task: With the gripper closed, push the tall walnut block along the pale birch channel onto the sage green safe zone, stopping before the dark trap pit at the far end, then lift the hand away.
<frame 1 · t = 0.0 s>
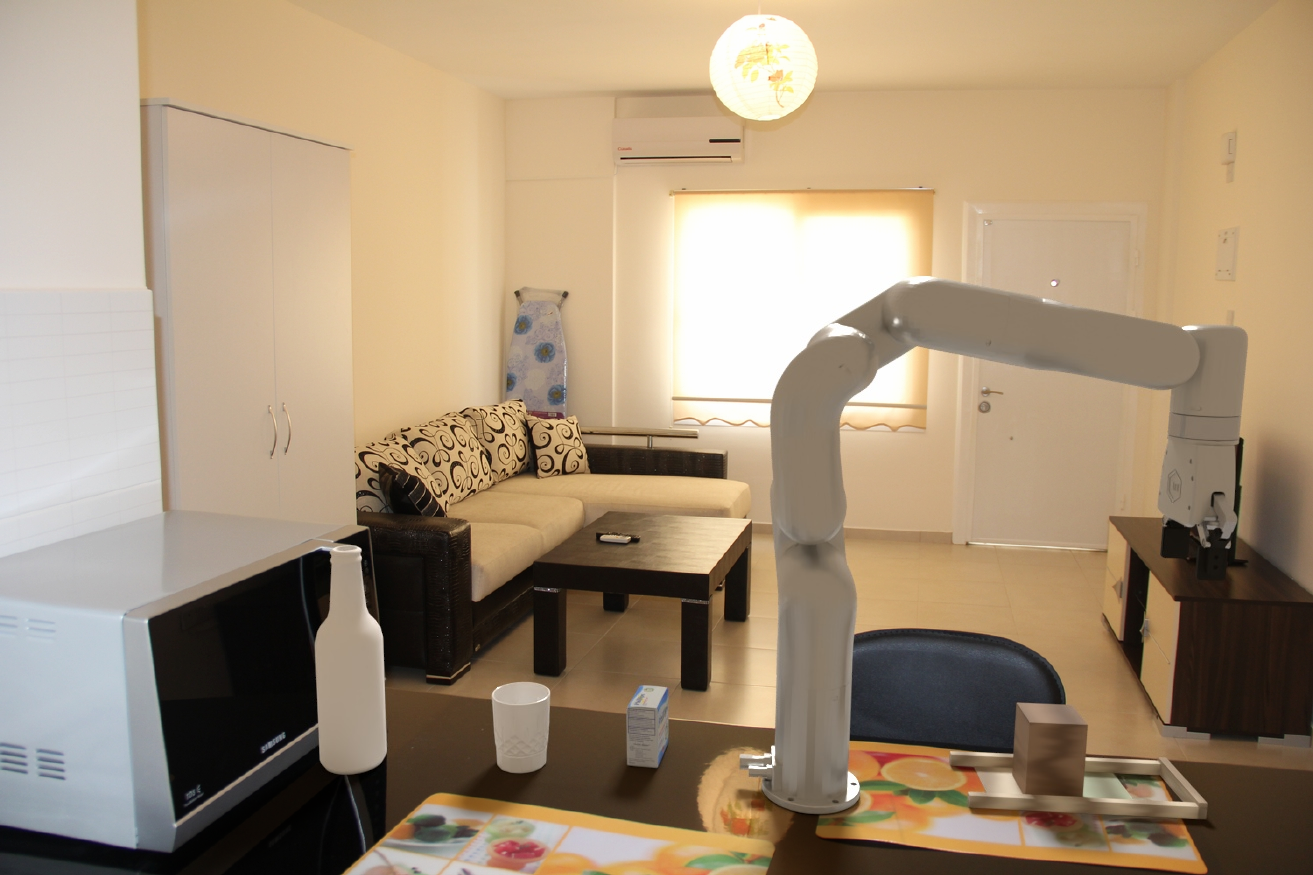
hand: (1191, 568, 120), 31 cm above the table, tool pointing down, fingers open, 9 cm apart
alcohol: (354, 762, 136), on the table
white cup: (522, 763, 136), on the table
channel board: (1069, 799, 127), on the table
walnut block: (1046, 787, 127), point 1 cm above the table, touching channel board
medicine box: (647, 756, 138), on the table
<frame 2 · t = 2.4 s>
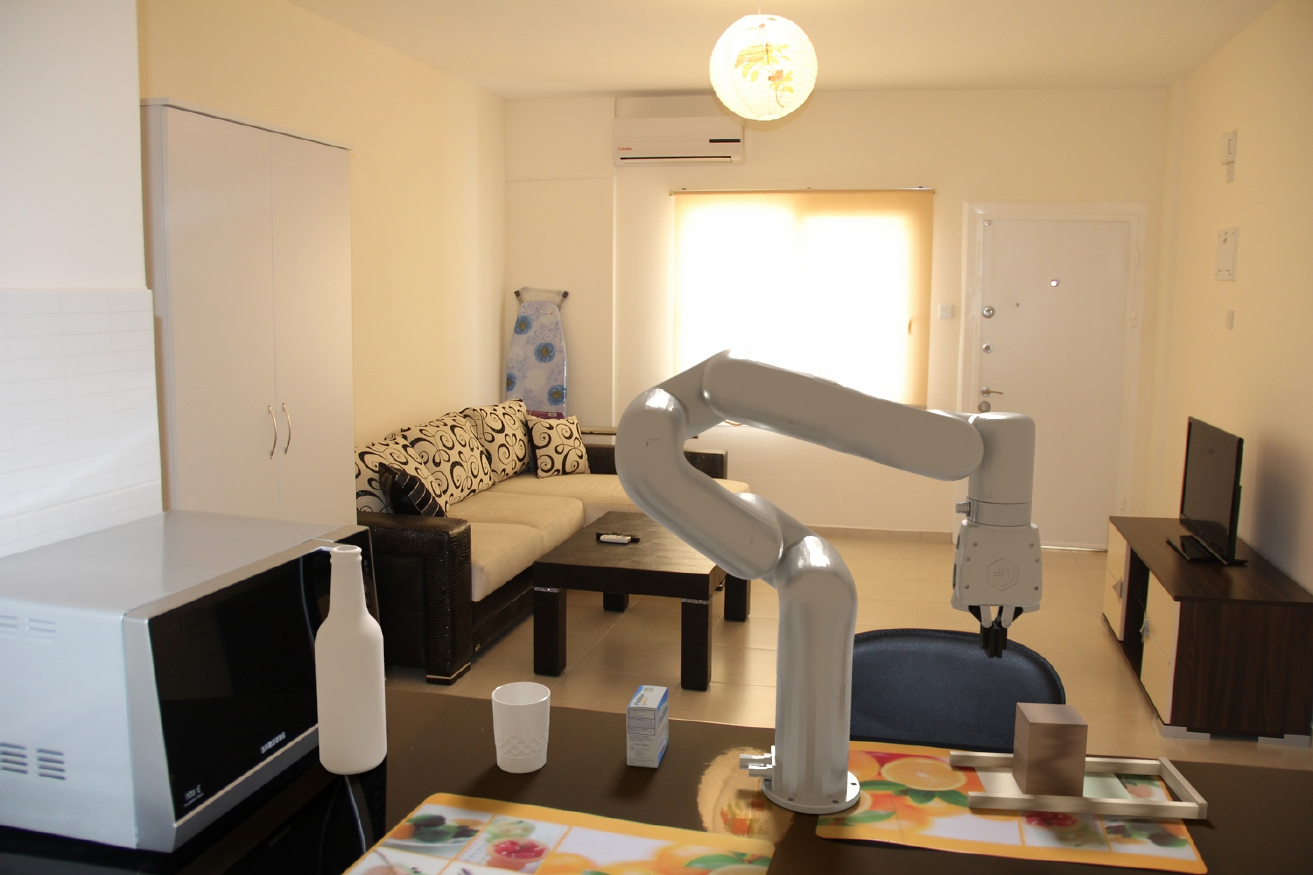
hand: (992, 654, 125), 19 cm above the table, tool pointing down, fingers closed
nothing on the table moved.
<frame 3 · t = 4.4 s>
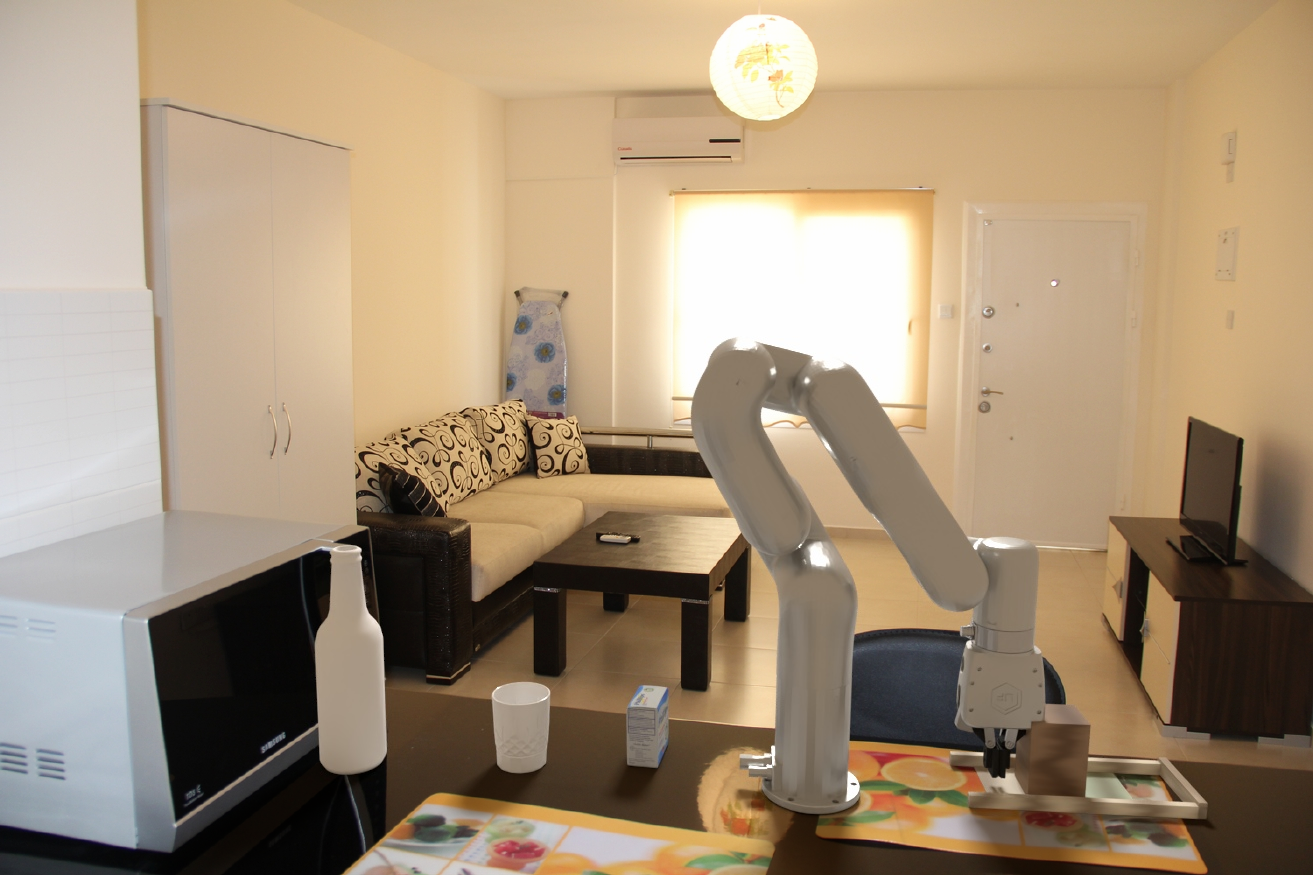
hand: (995, 772, 127), 3 cm above the table, tool pointing down, fingers closed
walnut block: (1048, 787, 127), point 1 cm above the table, touching channel board, gripper
everything else where it was.
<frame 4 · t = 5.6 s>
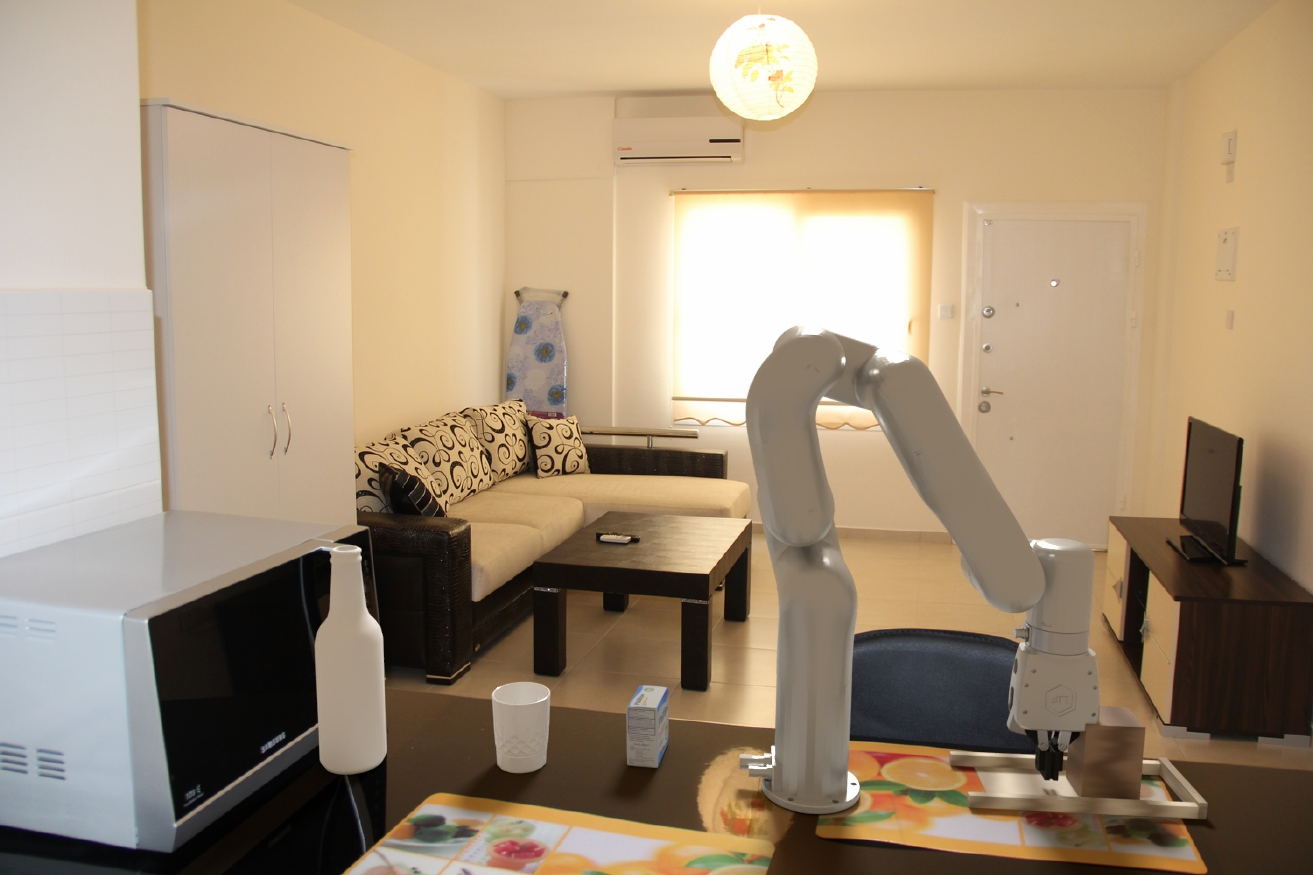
hand: (1048, 775, 127), 3 cm above the table, tool pointing down, fingers closed
walnut block: (1101, 789, 126), point 1 cm above the table, touching channel board, gripper
everything else where it was.
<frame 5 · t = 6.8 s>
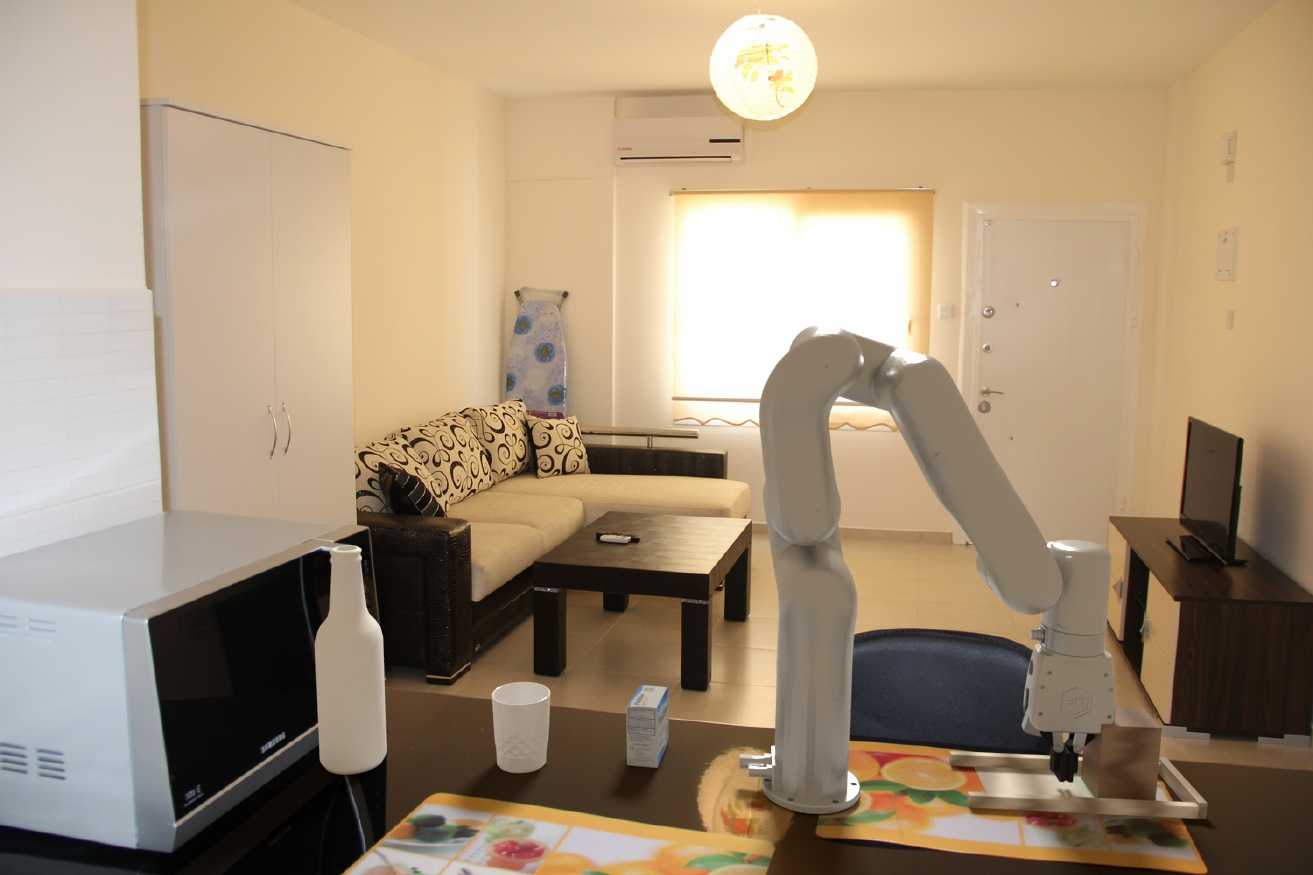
hand: (1062, 777, 126), 3 cm above the table, tool pointing down, fingers closed
walnut block: (1117, 790, 126), point 1 cm above the table, touching channel board
everything else where it was.
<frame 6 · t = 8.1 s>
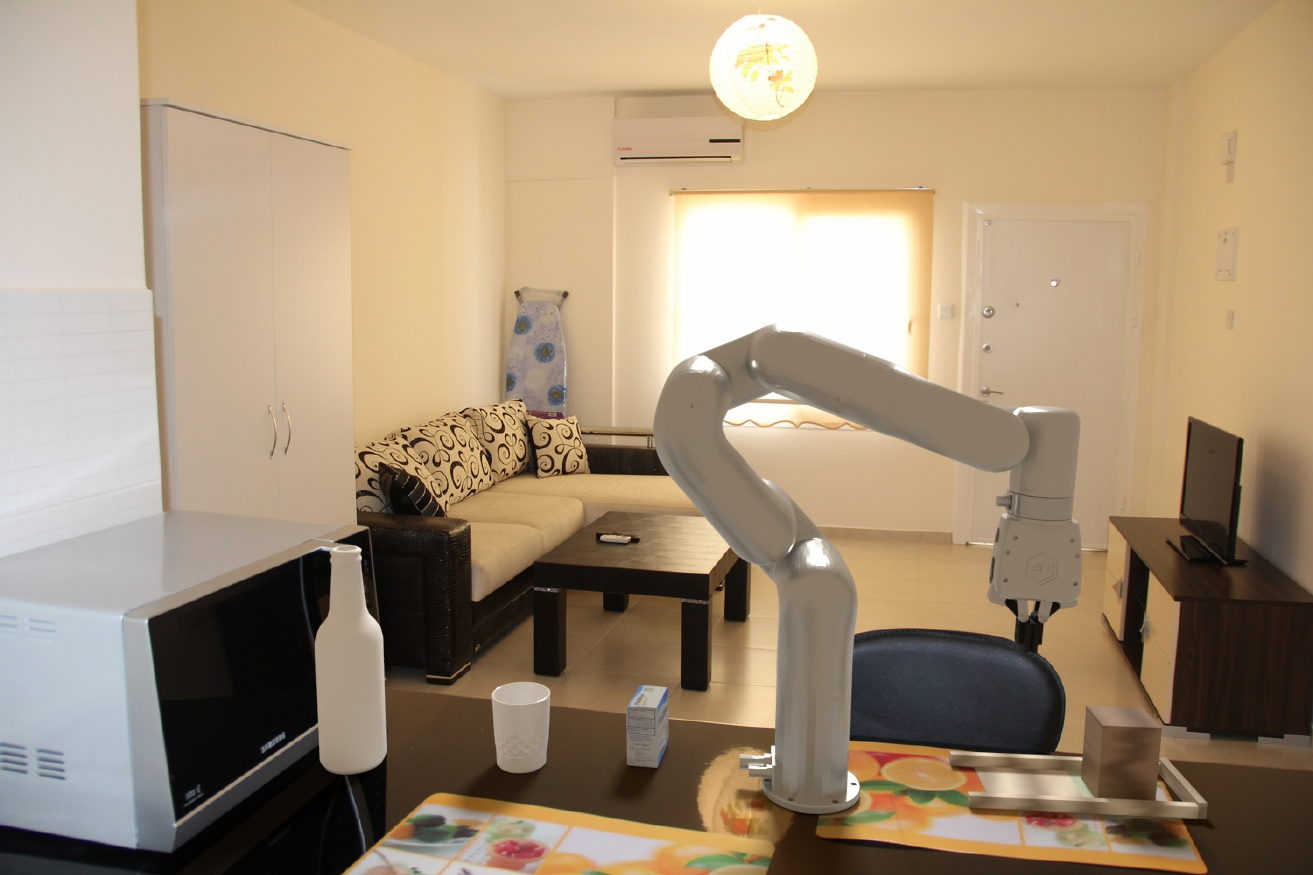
hand: (1027, 649, 124), 20 cm above the table, tool pointing down, fingers closed
nothing on the table moved.
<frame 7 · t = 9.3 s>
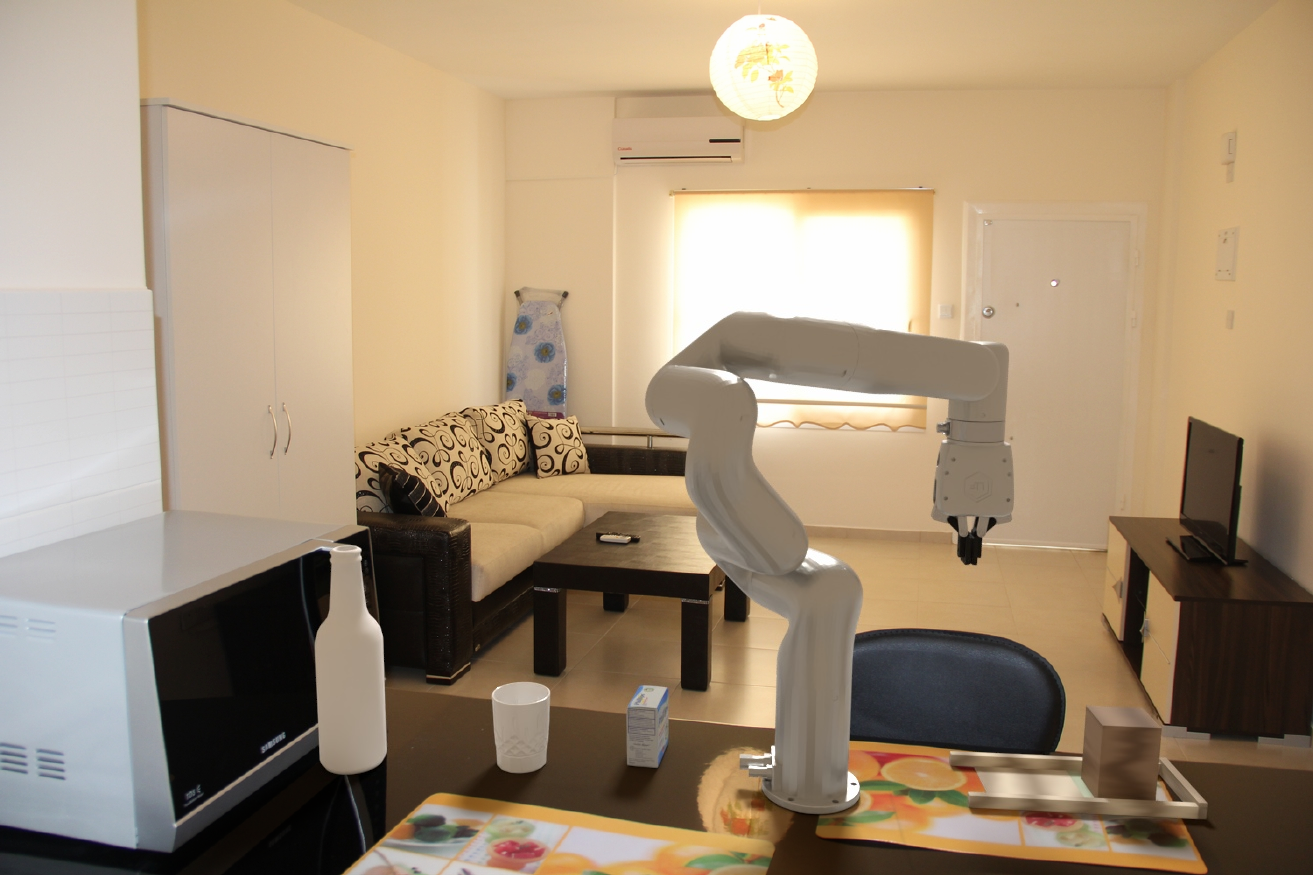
hand: (968, 562, 138), 27 cm above the table, tool pointing down, fingers closed
nothing on the table moved.
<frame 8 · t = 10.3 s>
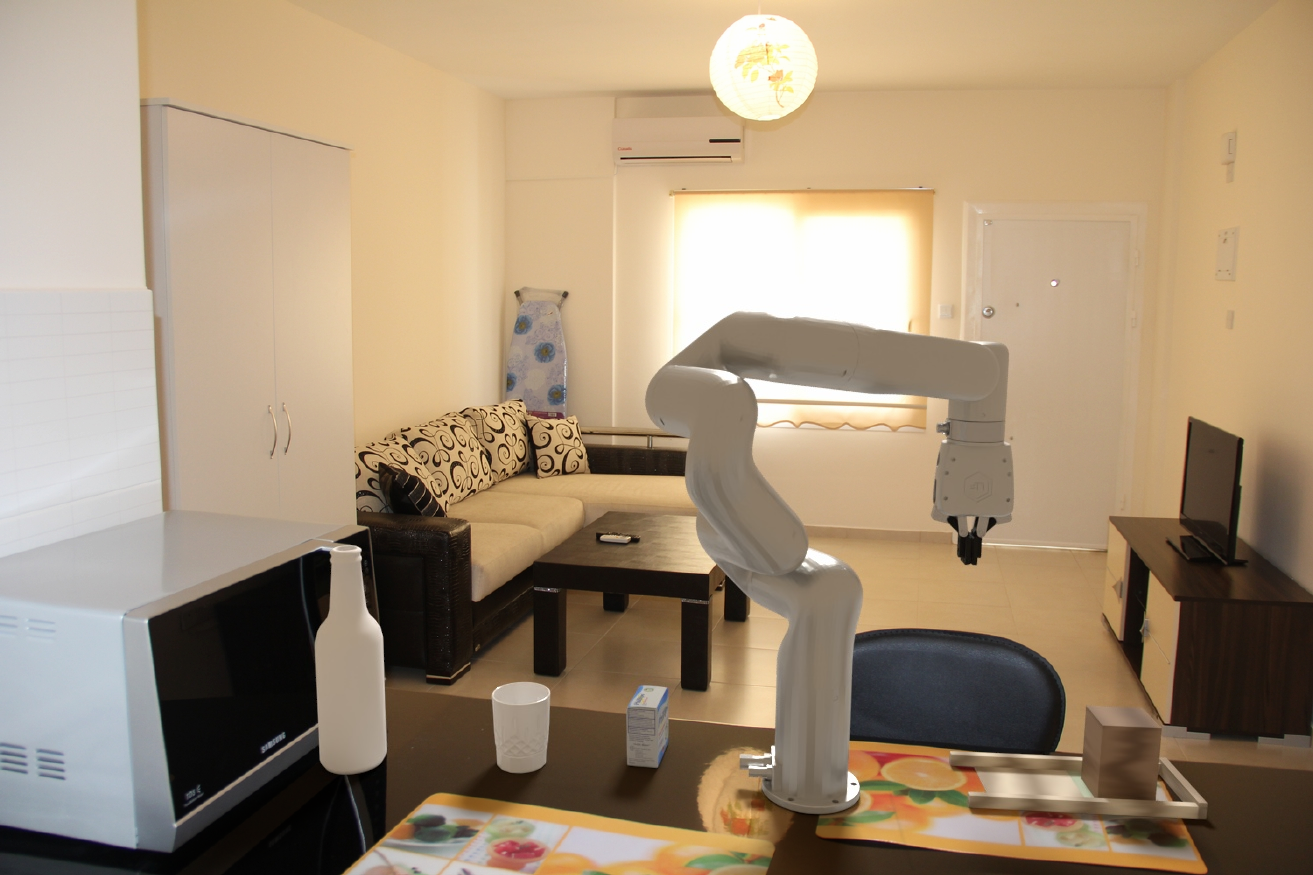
hand: (968, 562, 138), 27 cm above the table, tool pointing down, fingers closed
nothing on the table moved.
at the end: walnut block 1.8 cm from the target spot, point 1.5 cm above the table; walnut block tilted 0° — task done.
